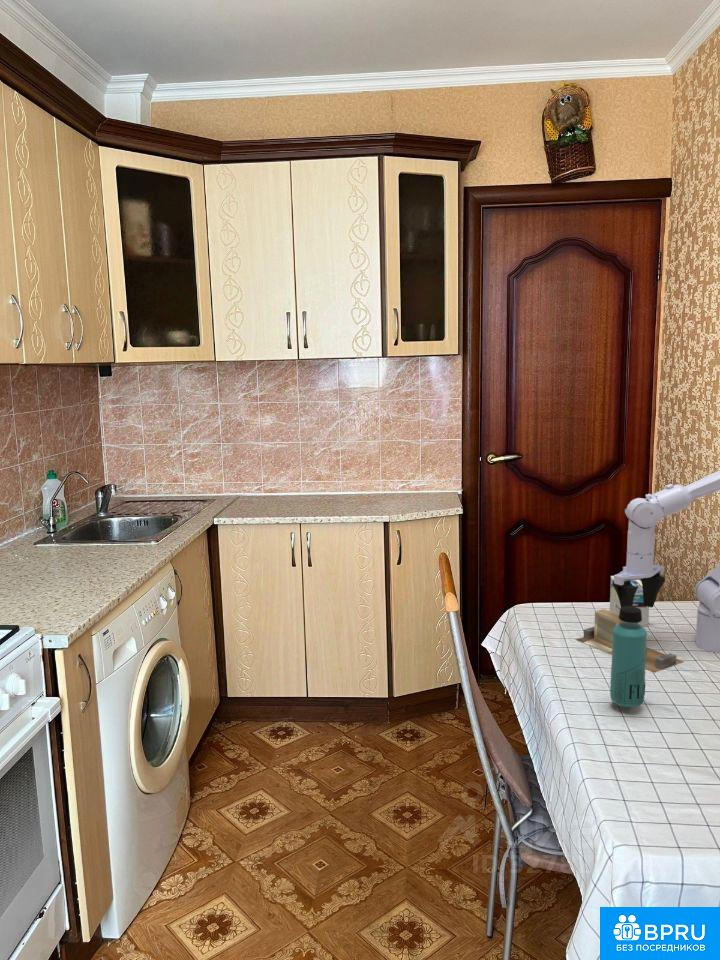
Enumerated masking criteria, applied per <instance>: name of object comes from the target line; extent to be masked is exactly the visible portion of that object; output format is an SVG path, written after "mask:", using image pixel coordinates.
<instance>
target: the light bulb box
mask: <svg viewBox="0 0 720 960" xmlns="http://www.w3.org/2000/svg"><path fill="white" fill-rule="evenodd" d="M613 580H614V575H610V589H609V590H610V591H609V592H610V593H609V595H610V597H609V611H611V612H614V613H617V614H619V613H620V608H621V605H620V601H619V598H618V595H617V592H616V590H615V588H614V587H613V585H612V582H613ZM631 583H632V585H633V586H637V587H638V589H637V591H636V593H635V596H634V599H633V607H637V608H639V609H641V614H642V621H641V622H638V623H637V624H639V625H641V626H642V627H643V628H648V627H649V618H650V617H649V616H650V607H648V606H645V605H644V603H643V587H642V582H641V579H638V580H634V581H631Z"/></svg>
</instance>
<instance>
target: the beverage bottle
mask: <svg viewBox="0 0 720 960" xmlns="http://www.w3.org/2000/svg"><path fill="white" fill-rule="evenodd" d="M619 619H620V620H622V621H624V622H622V623H620V624H618V625H617V626H615V627H614V628H613V645H612V655H611V664H610V665H611V666H610V667H611V668H610V675H609V676H610V677H609V678H610V679H609V680H610V681H609V682H610V690H609V695H610V699H611V702H613V703H615V704H617V705H619V706H621V707H626V708H627V707H628V708H635V707H640V706H642V705H643V704H644V701H645V695H646V673H647V672H646V669H645V666H646V663H647V662H646V661H647V660H646V654H647V650H646V647H647V638H648V637H647V636H648V632H647V630H646V629H645V627H642V626H641V625H639V624H637V623H638V622H641V621H642V614H641V609H639V608H637V607H632V606H625V607H621V608H620V613H619Z"/></svg>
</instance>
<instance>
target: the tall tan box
mask: <svg viewBox="0 0 720 960" xmlns="http://www.w3.org/2000/svg"><path fill="white" fill-rule="evenodd" d="M622 622H624V621H622V620H620V619H619V614H617V613H614V612H611V611H610V610H608V609H605V608H601V609H599V610H595V611H594V626H595V627H594V626H593V627H594V640H596V641H598V642H601V643H603V644H606V645H608V646H611V647H612V645H613V628H614V627H615V626H617V625H618V624H620V623H622Z"/></svg>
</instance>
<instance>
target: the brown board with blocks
mask: <svg viewBox="0 0 720 960" xmlns="http://www.w3.org/2000/svg"><path fill="white" fill-rule="evenodd" d="M594 627H595V625H594V626H591V627H589V628H584V629H583V637H579V638H576V639H575V640H576V641H577V642H580V643H582V644H585V645H587V646H589V647H592V648H594V649H596V650H599V651H602V652H604V653H606V654H608V655H611V656H612V647H611V646H608V645H606V644H603V643H601V642H598V641H596V640H594ZM646 650H647V654H646V660H647V661H646V662H647V663H646V666H645V670H646V671H650V672H651V673H654V674H655V673H657V672H661V671H663V670H665V669H669V668H671V667H675V666H677V665H680V664H682V663H685V661H684V660H681V659H678V658H677V654H674V653H672V652H670V653H666V654H665V653H663V652H660V651H657V650H655V649H653V648H650V647H647V646H646Z"/></svg>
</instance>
